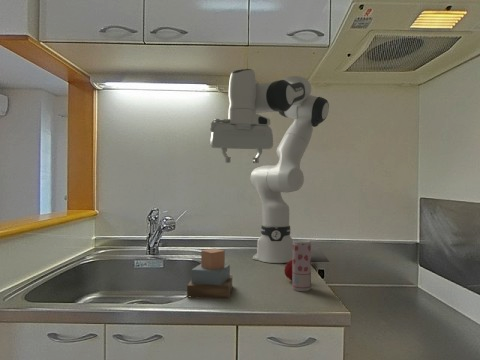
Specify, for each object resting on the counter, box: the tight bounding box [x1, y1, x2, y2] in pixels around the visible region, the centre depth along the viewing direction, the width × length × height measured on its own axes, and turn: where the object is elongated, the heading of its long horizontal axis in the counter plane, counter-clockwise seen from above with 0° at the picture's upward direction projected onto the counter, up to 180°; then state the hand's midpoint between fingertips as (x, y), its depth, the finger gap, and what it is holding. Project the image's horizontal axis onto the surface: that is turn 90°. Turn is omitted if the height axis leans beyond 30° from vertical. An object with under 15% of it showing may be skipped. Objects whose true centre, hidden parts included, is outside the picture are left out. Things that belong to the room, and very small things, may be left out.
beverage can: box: [291, 238, 312, 292], centre depth 122 cm, size 6×6×15 cm
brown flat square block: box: [186, 275, 233, 299], centre depth 119 cm, size 12×12×4 cm
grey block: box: [191, 263, 231, 285], centre depth 119 cm, size 9×9×4 cm
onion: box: [283, 258, 293, 282], centre depth 130 cm, size 6×6×8 cm
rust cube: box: [200, 247, 226, 270], centre depth 119 cm, size 5×5×5 cm
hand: (241, 162), depth 127 cm, fingers open, 8 cm apart
